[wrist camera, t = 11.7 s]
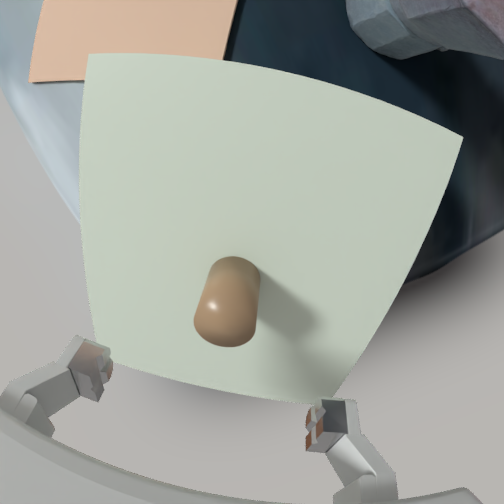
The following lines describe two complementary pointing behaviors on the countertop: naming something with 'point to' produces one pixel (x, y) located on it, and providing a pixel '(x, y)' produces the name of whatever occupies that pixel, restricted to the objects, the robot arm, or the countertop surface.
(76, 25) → the peach flat square panel
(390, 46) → the moka pot
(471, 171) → the countertop surface
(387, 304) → the sage cover
